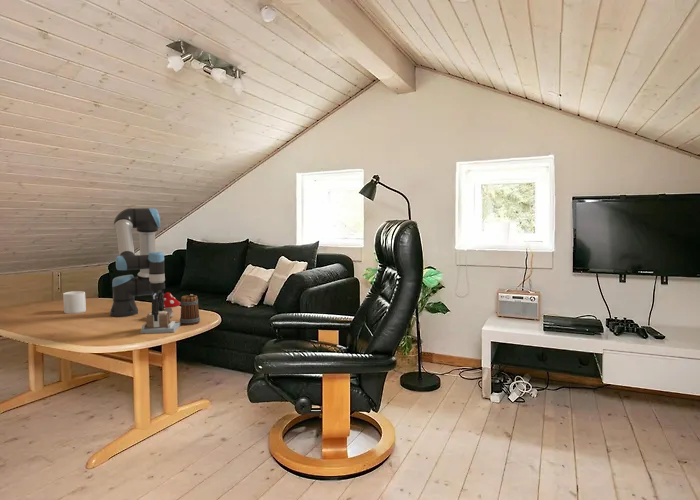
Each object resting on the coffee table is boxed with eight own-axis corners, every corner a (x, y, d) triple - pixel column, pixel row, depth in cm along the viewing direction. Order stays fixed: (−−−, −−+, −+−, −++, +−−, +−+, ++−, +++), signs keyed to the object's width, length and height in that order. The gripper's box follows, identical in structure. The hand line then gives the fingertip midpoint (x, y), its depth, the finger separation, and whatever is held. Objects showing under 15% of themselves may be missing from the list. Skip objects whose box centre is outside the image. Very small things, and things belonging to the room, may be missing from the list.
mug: (198, 324, 250) (197, 297, 249) (178, 325, 249) (177, 298, 248) (202, 318, 266) (202, 292, 265) (183, 319, 264) (183, 293, 263)
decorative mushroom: (178, 313, 278) (177, 289, 276) (184, 318, 266) (183, 292, 265) (153, 316, 270) (152, 291, 269) (158, 321, 258) (157, 295, 257)
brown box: (150, 324, 242) (149, 311, 241) (169, 323, 244) (169, 311, 243) (146, 328, 235) (146, 314, 235) (167, 327, 237) (167, 313, 237)
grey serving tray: (149, 326, 247) (149, 320, 247) (180, 325, 249) (180, 319, 249) (140, 333, 232) (140, 326, 232) (173, 332, 235) (173, 325, 234)
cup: (83, 308, 293) (82, 290, 292) (88, 311, 284) (87, 292, 283) (62, 311, 285) (61, 292, 284) (66, 314, 276) (65, 295, 275)
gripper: (155, 279, 247) (156, 320, 249) (143, 285, 227) (145, 330, 229) (169, 278, 248) (171, 320, 250) (159, 284, 228) (161, 329, 230)
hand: (158, 325), depth 240 cm, fingers closed on brown box, 7 cm apart
